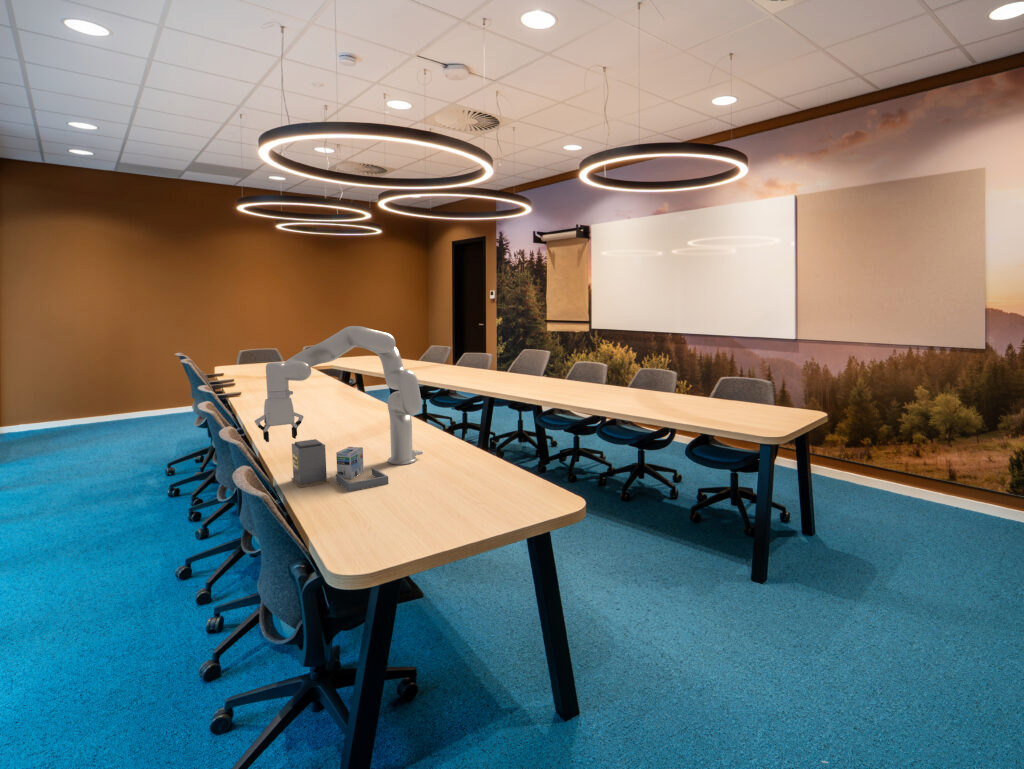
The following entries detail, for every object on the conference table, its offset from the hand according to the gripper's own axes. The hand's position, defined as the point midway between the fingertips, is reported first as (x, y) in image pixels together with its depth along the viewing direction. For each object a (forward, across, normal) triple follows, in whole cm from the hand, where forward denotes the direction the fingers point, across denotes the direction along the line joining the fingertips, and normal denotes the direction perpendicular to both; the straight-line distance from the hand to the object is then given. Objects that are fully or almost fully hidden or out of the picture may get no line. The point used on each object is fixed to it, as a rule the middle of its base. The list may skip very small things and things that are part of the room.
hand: (280, 439), depth 204 cm
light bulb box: (+19, -26, +1) cm, 32 cm away
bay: (+18, -26, +13) cm, 34 cm away
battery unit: (+18, -10, 0) cm, 21 cm away
